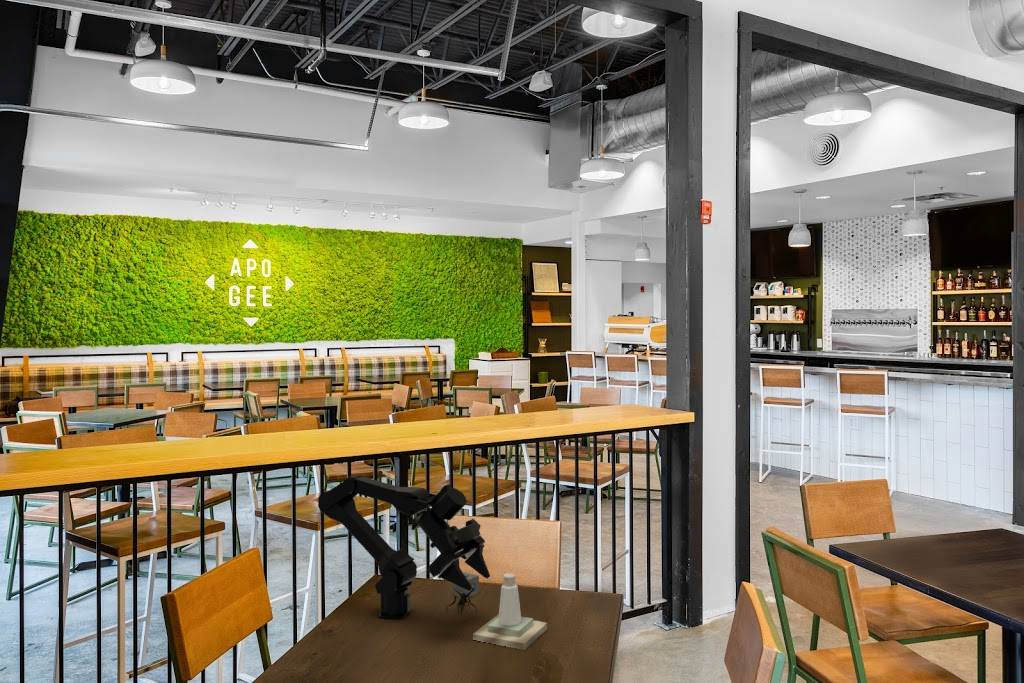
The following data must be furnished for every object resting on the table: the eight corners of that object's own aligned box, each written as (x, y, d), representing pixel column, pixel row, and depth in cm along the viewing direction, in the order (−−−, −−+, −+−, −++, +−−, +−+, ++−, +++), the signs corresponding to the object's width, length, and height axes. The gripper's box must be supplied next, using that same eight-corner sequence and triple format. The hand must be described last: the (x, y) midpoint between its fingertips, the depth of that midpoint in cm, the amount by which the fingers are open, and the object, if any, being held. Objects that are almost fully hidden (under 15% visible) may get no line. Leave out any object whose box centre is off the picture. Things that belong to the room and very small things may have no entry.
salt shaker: (521, 617, 177) (520, 570, 177) (521, 626, 172) (521, 578, 172) (498, 617, 177) (497, 571, 177) (498, 626, 172) (497, 578, 172)
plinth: (472, 640, 171) (472, 627, 171) (498, 620, 183) (497, 608, 183) (524, 650, 166) (524, 636, 166) (547, 629, 178) (547, 616, 178)
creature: (475, 620, 187) (479, 601, 195) (474, 600, 186) (479, 583, 193) (444, 619, 188) (450, 601, 195) (443, 600, 186) (448, 582, 194)
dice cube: (452, 595, 202) (452, 576, 201) (465, 590, 205) (465, 572, 205) (466, 599, 198) (466, 580, 198) (479, 594, 202) (478, 575, 202)
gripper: (439, 519, 171) (482, 574, 167) (477, 502, 188) (518, 551, 184) (410, 550, 175) (452, 604, 170) (450, 530, 192) (489, 579, 187)
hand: (479, 583), depth 178 cm, fingers open, 9 cm apart
